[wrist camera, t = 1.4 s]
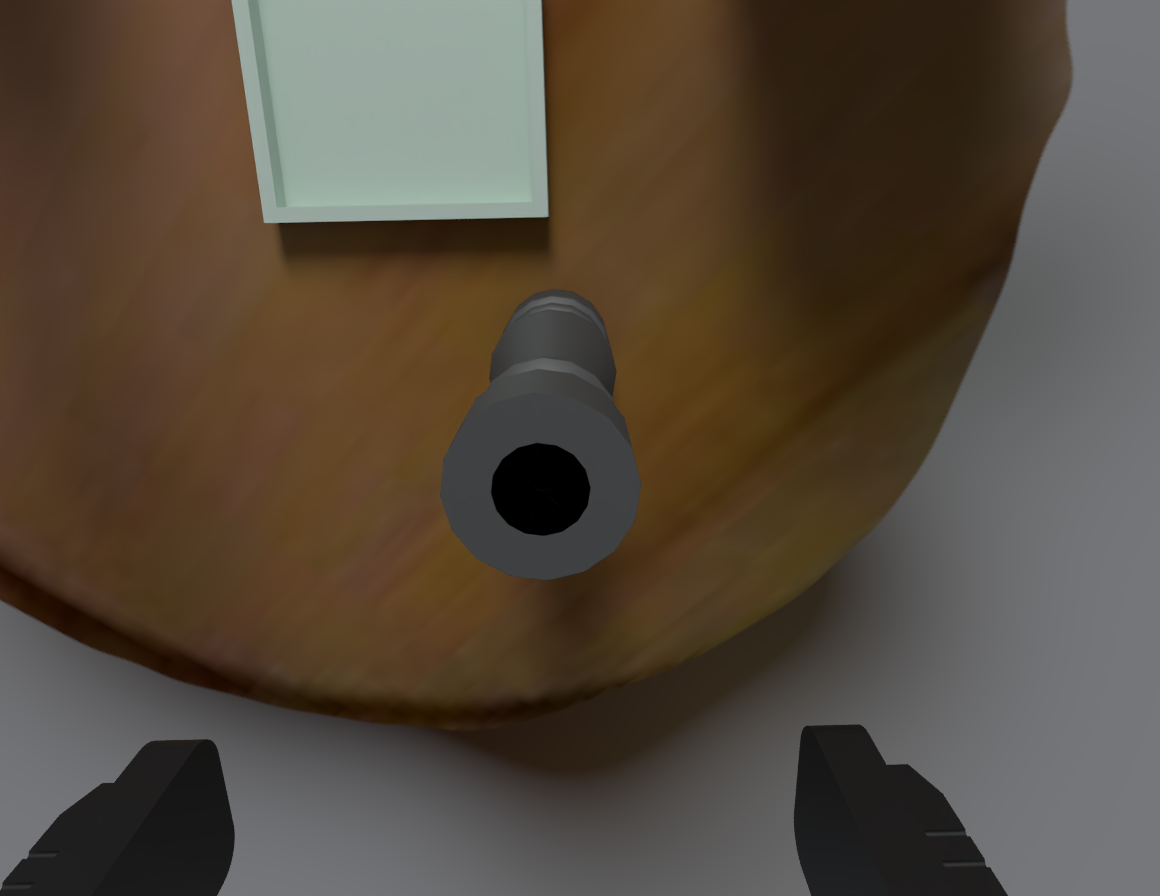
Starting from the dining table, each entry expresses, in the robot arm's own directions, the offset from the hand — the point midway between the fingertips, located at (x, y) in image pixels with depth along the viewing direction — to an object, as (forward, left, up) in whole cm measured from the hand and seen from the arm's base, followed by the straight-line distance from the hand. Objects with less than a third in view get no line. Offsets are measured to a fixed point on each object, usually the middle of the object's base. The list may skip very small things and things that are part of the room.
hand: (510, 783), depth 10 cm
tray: (-8, +15, -36) cm, 40 cm away
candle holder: (0, 0, -36) cm, 36 cm away
